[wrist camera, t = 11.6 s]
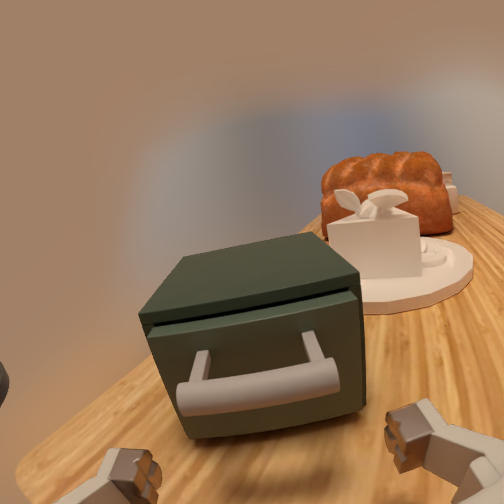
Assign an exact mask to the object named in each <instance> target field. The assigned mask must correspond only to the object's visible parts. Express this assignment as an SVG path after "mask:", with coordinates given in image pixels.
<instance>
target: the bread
mask: <svg viewBox="0 0 504 504" xmlns="http://www.w3.org/2000/svg"><path fill="white" fill-rule="evenodd" d="M321 186H322V193H323V198H322V201H321V211H322V224H321V226H322V233H323V236H325V237H327V238H328V232H327V226H326V225H327V224H330V223H332V222H335V221H338V220H340V219H343V218H345V217H348V216H351V215H353V214H355V211H351V210H348V209H346V208H343V207H341V206H340V204H339V203H338V202H337V200H336V197H335V194H334V191H335V190H341V189H346V190H349V191H351V192H354V193H355V195H356V196H357V197H358V199H359V201H360V204H361V205H362V203H363V202H364V201H365V200H367V199H368V194H370V193H373V192H375V191H379V190H384V189H396V190H400V191H403V192H404V193H405V194H407V197H408V201H406V202H404V203H401V204H399V205H397V206H395V208H398V209H400V210H403V211H405V212H408V213H410V214H412V215H415V216H417V217H418V218H419V229H420V235H424V234H438V233H444V232H449V231H450V230H451V229H452V225H453V220H452V209H451V205H450V201H449V194H448V191H447V189H446V187H445V184H444V183H443V176H442V170H441V168H440V166H439V164H438V163H437V161H436V160H435V159H434V158H433V157H432V156H431V155H430V154H429V153H426V152H413V153H412V154H411V153H409V152H395V153H394V154H393V155H388V154H383V153H376V154H371V155H369V156H367V157H365V158H363V157H359V156H358V157H351V158H348V159H345V160H343V161H341V162H339V163H338V164H336V165H333V166H332V167H331V168H329V169H328V171H327V172H326V173H325V174H324V175H323V178H322V182H321Z"/></svg>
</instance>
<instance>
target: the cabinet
mask: <svg viewBox="0 0 504 504" xmlns="http://www.w3.org/2000/svg"><path fill="white" fill-rule="evenodd" d="M360 283H361V281H360V272H359V271H358V270H357V269H356V268H355V267H353V266H352V265H351V264H350V263H349V262H347V261H346V260H345V259H344V258H343V257H342V256H340V255H339V254H338V253H337V252H336V251H334V250H333V249H332V248H331V247H330V246H328V245H327V244H326V243H325V242H324V241H322V240H321V239H320V238H319V237H318V236H316V235H315V234H314V233H313V232H306V233H300V234H295V235H290V236H285V237H280V238H275V239H270V240H265V241H260V242H255V243H250V244H245V245H240V246H235V247H230V248H225V249H220V250H215V251H210V252H205V253H200V254H195V255H190V256H185V257H183V258H182V259H181V261H180V262H179V263H178V264H177V265H176V267H175V268H174V269H173V270H172V272H171V273H170V274H169V275H168V276H167V278H166V279H165V280H164V282H163V283H162V284H161V285H160V287H159V288H158V289H157V290H156V292H155V293H154V294H153V295H152V297H151V298H150V299H149V300H148V302H147V303H146V304H145V306H144V307H143V308H142V309H141V311H140V312H139V313H138V315H139V318H140V321H141V324H142V328H143V330H144V333H145V336H146V339H147V336H148V335H149V333H150V331H151V330H152V328H153V327H159V326H166V325H172V324H171V321H173V320H179V319H186V318H192V317H198V316H204V315H210V314H216V313H221V312H227V311H233V310H238V309H244V308H249V307H254V306H260V305H265V304H270V303H275V302H280V301H285V300H290V299H295V298H300V297H304V296H309V295H314V294H318V293H323V292H328V291H332V290H334V294H337V293H342V292H346V291H351V292H352V293H353V294H354V295H355V296H356V298H357V299H358V308H359V322H360V339H361V361H362V406H364V405H366V358H365V334H364V317H363V302H362V290H361V284H360ZM147 341H148V340H147ZM148 344H149V343H148ZM149 347H150V345H149ZM150 350H151V348H150ZM151 352H152V351H151ZM152 355H153V354H152ZM153 358H154V356H153ZM154 360H155V359H154ZM155 363H156V361H155ZM156 365H157V364H156ZM157 368H158V366H157ZM158 370H159V369H158ZM159 373H160V372H159ZM160 375H161V374H160ZM161 378H162V377H161ZM162 380H163V379H162ZM163 383H164V381H163ZM164 385H165V384H164ZM165 388H166V386H165ZM166 390H167V389H166ZM167 392H168V391H167ZM168 395H169V393H168ZM169 397H170V396H169ZM170 399H171V398H170ZM171 402H172V400H171ZM172 404H173V403H172ZM173 406H174V405H173ZM174 408H175V407H174ZM175 411H176V409H175ZM176 413H177V412H176ZM177 415H178V414H177ZM178 417H179V416H178ZM179 419H180V418H179ZM180 422H181V420H180ZM181 424H182V423H181ZM182 426H183V425H182ZM183 428H184V427H183ZM184 430H185V429H184ZM185 432H186V431H185ZM186 434H187V433H186ZM187 436H188V435H187Z"/></svg>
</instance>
